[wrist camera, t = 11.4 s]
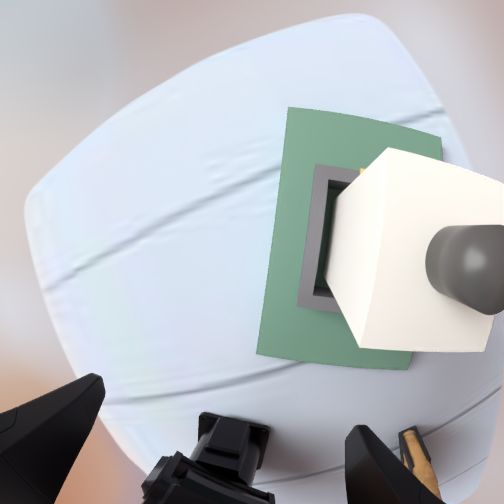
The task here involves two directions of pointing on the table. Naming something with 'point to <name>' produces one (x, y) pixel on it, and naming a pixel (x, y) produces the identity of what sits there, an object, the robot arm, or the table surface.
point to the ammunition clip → (417, 458)
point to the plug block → (418, 255)
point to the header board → (322, 235)
